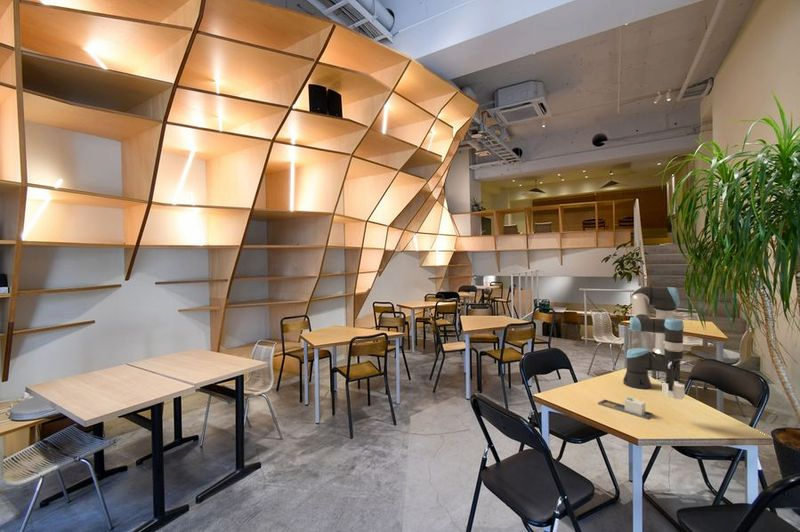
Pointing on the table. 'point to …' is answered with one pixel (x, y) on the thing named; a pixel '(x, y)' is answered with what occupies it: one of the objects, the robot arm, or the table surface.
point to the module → (678, 390)
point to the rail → (622, 408)
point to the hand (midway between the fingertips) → (673, 395)
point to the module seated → (635, 406)
